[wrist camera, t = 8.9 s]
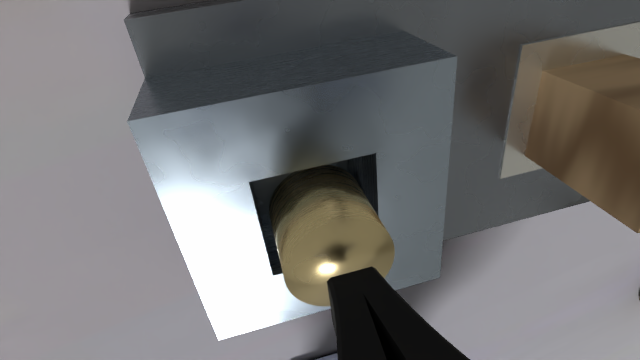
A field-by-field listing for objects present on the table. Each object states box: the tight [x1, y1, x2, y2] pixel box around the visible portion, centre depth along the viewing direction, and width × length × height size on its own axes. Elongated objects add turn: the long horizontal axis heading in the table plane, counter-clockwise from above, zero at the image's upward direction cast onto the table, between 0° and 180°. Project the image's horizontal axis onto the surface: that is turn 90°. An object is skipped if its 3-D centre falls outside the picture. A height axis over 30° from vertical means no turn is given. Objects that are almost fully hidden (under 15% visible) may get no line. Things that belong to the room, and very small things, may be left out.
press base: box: [124, 0, 640, 340], centre depth 18 cm, size 14×26×5 cm, turn 97°
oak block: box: [525, 54, 640, 233], centre depth 17 cm, size 4×4×6 cm
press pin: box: [269, 165, 395, 306], centre depth 14 cm, size 4×4×3 cm
